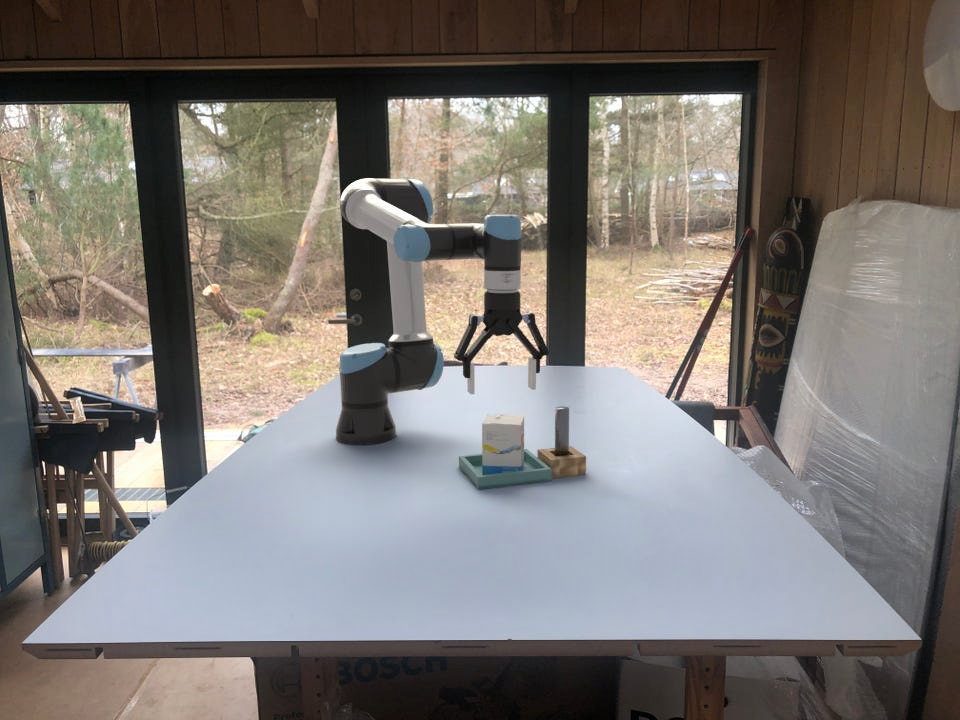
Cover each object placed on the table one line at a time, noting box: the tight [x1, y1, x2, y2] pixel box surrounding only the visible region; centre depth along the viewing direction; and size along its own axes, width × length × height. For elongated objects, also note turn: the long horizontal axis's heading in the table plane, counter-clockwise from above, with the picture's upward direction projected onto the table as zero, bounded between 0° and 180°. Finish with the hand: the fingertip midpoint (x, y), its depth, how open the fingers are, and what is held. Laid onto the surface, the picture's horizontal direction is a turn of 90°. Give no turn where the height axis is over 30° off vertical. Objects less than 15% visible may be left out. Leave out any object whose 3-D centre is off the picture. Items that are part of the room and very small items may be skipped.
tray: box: [458, 448, 553, 490], centre depth 164 cm, size 16×15×3 cm
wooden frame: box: [537, 445, 587, 479], centre depth 165 cm, size 8×8×4 cm
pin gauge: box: [554, 406, 570, 457], centre depth 164 cm, size 3×3×14 cm
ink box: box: [481, 413, 525, 475], centre depth 163 cm, size 9×8×12 cm
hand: (501, 390), depth 161 cm, fingers open, 13 cm apart
